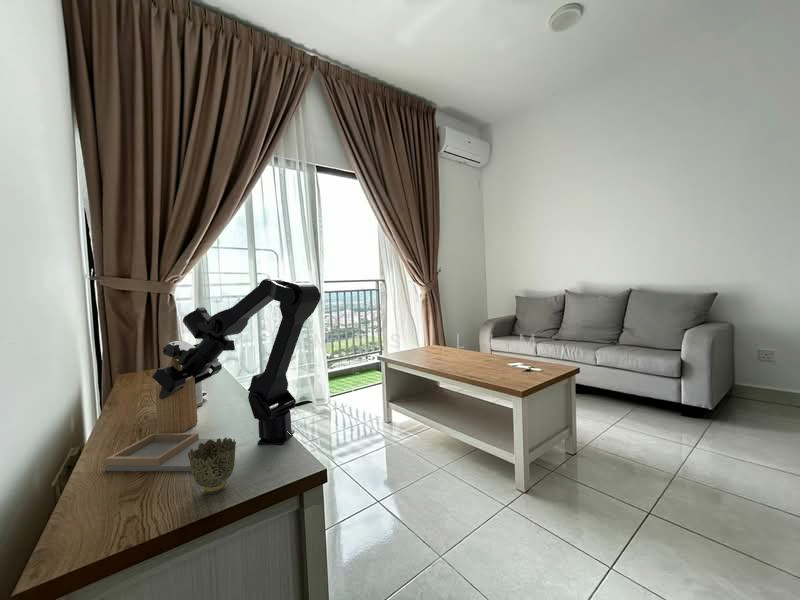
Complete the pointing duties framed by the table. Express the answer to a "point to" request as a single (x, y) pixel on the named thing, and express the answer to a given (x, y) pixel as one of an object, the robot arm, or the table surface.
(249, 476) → the table surface
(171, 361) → the decorative item
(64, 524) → the table surface
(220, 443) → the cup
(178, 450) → the display stand
